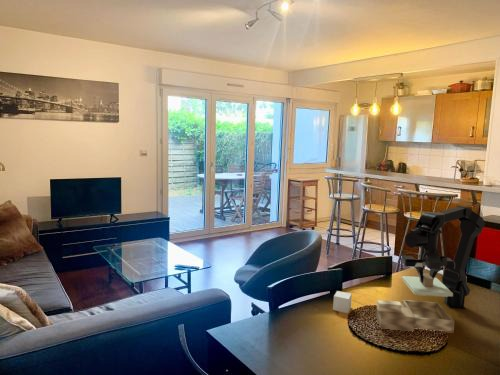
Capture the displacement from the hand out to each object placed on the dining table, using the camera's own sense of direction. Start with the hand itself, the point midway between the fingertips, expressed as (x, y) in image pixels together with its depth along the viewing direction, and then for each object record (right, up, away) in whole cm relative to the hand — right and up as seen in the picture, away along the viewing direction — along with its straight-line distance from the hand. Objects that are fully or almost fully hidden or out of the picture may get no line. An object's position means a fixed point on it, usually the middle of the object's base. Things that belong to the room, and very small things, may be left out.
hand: (426, 282), depth 150 cm
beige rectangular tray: (-9, -13, -5) cm, 17 cm away
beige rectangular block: (-18, -8, -10) cm, 22 cm away
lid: (0, -3, 0) cm, 2 cm away
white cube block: (-33, -12, +4) cm, 35 cm away
